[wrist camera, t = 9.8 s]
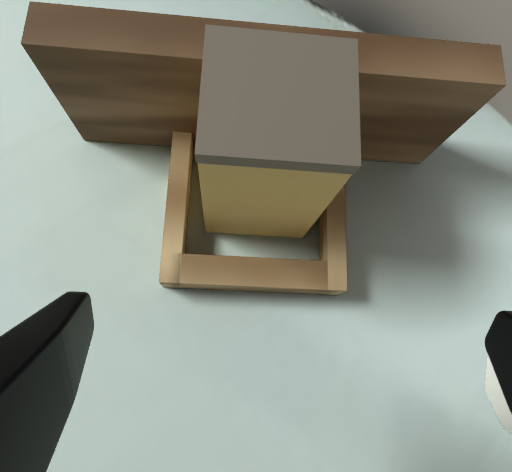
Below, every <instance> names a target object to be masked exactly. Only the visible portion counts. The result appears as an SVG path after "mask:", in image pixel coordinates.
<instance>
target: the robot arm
mask: <svg viewBox="0 0 512 472" xmlns="http://www.w3.org/2000/svg"><path fill="white" fill-rule="evenodd" d="M93 330H94V319H93V312H92V305H91V299H90V296H89V294H88V293H87V292H73V291H71V292H67V293H65V294H63V295H62V296H60V297H59V298H57V299H56V300H54V301H53V302H51V303H50V304H48V305H47V306H45V307H44V308H42V309H41V310H39V311H38V312H36V313H35V314H33V315H32V316H30V317H29V318H27V319H26V320H24V321H23V322H21V323H20V324H18V325H17V326H15V327H14V328H12V329H11V330H9V331H8V332H6V333H5V334H3V335H2V336H0V472H46V471H47V468H48V466H49V463H50V461H51V458H52V456H53V453H54V451H55V448H56V446H57V443H58V441H59V438H60V436H61V433H62V431H63V428H64V426H65V423H66V421H67V418H68V416H69V413H70V411H71V408H72V406H73V403H74V400H75V397H76V394H77V390H78V387H79V383H80V379H81V376H82V372H83V368H84V365H85V361H86V357H87V353H88V350H89V346H90V342H91V339H92V335H93ZM485 347H486V351H487V353H488V356H489V358H490V361H491V364H492V366H493V369H494V371H495V374H496V377H497V379H498V382H499V385H500V387H501V390H502V392H503V395H504V398H505V400H506V403H507V405H508V407H509V410H510V412H511V414H512V311H500V312H499V313H498V314H497V315H496V316H495V319H494V321H493V323H492V325H491V327H490V329H489V331H488V333H487V335H486V338H485Z"/></svg>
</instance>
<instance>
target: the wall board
mask: <svg viewBox="0 0 512 472" xmlns="http://www.w3.org/2000/svg"><path fill="white" fill-rule="evenodd" d="M205 24H208V25H218V26H229V27H239V28H250V29H260V30H270V31H281V32H291V33H302V34H312V35H322V36H333V37H343V38H353V39H358V66H359V102H360V137H361V160H374V161H388V162H402V163H416V164H420V163H421V162H422V161H423V160H424V159H425V158H426V157H427V156H428V155H430V154H431V153H432V152H433V151H434V150H435V149H436V148H437V147H438V146H440V145H441V144H442V143H443V142H444V141H445V140H446V139H447V138H448V137H449V136H451V135H452V134H453V133H454V132H455V131H456V130H457V129H458V128H459V127H461V126H462V125H463V124H464V123H465V122H466V121H467V120H468V119H469V118H470V117H472V116H473V115H474V114H475V113H476V112H477V111H478V110H479V109H480V108H482V107H483V106H484V105H485V104H486V103H487V102H488V101H489V100H490V99H491V98H493V97H494V96H495V95H496V94H497V93H498V92H499V91H500V90H501V89H503V87H505V86H506V80H505V73H504V66H503V59H502V52H501V46H500V45H490V44H480V43H479V44H478V43H469V42H458V41H447V40H437V39H426V38H415V37H404V36H394V35H383V34H373V33H362V32H351V31H340V30H330V29H319V28H308V27H298V26H287V25H276V24H266V23H255V22H244V21H233V20H223V19H212V18H201V17H191V16H180V15H169V14H158V13H148V12H137V11H126V10H116V9H105V8H94V7H84V6H73V5H62V4H51V3H41V2H30V3H29V7H28V12H27V17H26V22H25V26H24V31H23V36H22V41H21V44H22V46H23V47H24V49H25V50H26V52H27V53H28V55H29V57H30V58H31V60H32V61H33V63H34V64H35V66H36V67H37V69H38V70H39V72H40V73H41V75H42V76H43V78H44V79H45V81H46V82H47V84H48V86H49V87H50V89H51V90H52V92H53V93H54V95H55V96H56V98H57V99H58V101H59V102H60V104H61V105H62V107H63V108H64V110H65V112H66V113H67V115H68V116H69V118H70V119H71V121H72V122H73V124H74V125H75V127H76V128H77V130H78V131H79V133H80V134H81V136H82V137H83V139H84V140H88V141H102V142H117V143H131V144H145V145H159V146H172V148H171V158H170V169H169V179H168V190H167V201H166V211H165V222H164V232H163V243H162V254H161V264H160V275H159V283H160V284H161V285H162V286H163V287H174V288H196V289H218V290H240V291H262V292H285V293H307V294H329V295H338V294H341V293H343V292H346V291H347V258H346V213H345V184H344V186H343V187H342V188H341V190H340V191H339V192H338V193H337V195H336V196H335V197H334V199H333V200H332V201H331V202H330V204H329V205H328V206H327V207H326V209H325V210H324V211H323V213H322V214H321V215H320V216H319V250H320V261H319V260H299V259H279V258H260V257H240V256H221V255H201V254H185V248H186V235H187V223H188V210H189V197H190V185H191V172H192V160H193V148H195V143H196V131H197V119H198V107H199V96H200V84H201V72H202V60H203V48H204V36H205Z"/></svg>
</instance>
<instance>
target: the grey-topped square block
mask: <svg viewBox="0 0 512 472" xmlns="http://www.w3.org/2000/svg"><path fill="white" fill-rule="evenodd" d="M195 161H196V163H197V164H198V172H199V181H200V189H201V198H202V206H203V215H204V223H205V232H211V233H227V234H244V235H261V236H278V237H294V238H303V237H304V236H305V234H306V233H307V232H308V230H309V229H310V228H311V227H312V225H313V224H314V223H315V221H316V220H317V219H318V218H319V216H320V215H321V214H322V213H323V211H324V210H325V209H326V207H327V206H328V205H329V204H330V202H331V201H332V200H333V199H334V197H335V196H336V195H337V193H338V192H339V191H340V190H341V188H342V187H343V186H344V184H345V183H346V182H347V181H348V179H349V178H350V177H351V176H352V174H354V175H355V174H356V172H357V171H358V170H359V169H360V167H361V137H360V102H359V66H358V39H353V38H343V37H333V36H322V35H312V34H302V33H291V32H281V31H270V30H260V29H250V28H239V27H229V26H218V25H208V24H205V36H204V48H203V60H202V72H201V84H200V96H199V107H198V119H197V131H196V143H195Z"/></svg>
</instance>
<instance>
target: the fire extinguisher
mask: <svg viewBox="0 0 512 472" xmlns="http://www.w3.org/2000/svg"><path fill="white" fill-rule="evenodd" d="M485 393H486V395H487V397H488V399H489V401H490V403H491V405H492V407H493V409H494V411H495V413H496V415H497V417H498V419H499V421H500V423H501V425H502V427H503V429H505V430H506V431H508V432H509V433H511V434H512V414H511V412H510V410H509V407H508V405H507V403H506V400H505V398H504V395H503V392H502V390H501V387H500V385H499V382H498V379H497V377H496V374H495V371H494V369H493V366H492V364H491V361H490V358H489V356H488V361H487V372H486V383H485Z"/></svg>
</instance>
